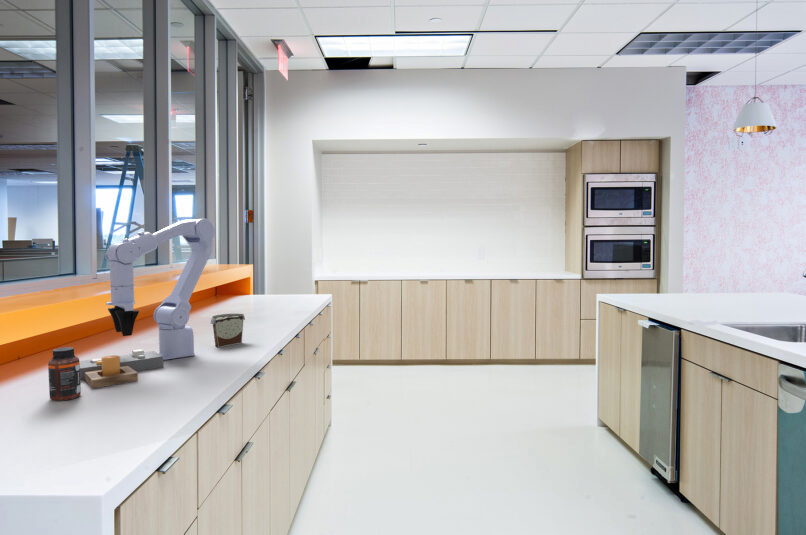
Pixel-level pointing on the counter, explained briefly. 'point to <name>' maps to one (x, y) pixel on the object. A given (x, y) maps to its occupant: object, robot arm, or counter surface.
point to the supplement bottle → (64, 375)
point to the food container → (227, 329)
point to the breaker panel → (126, 363)
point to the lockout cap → (110, 365)
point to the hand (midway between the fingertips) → (123, 333)
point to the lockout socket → (111, 377)
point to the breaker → (137, 353)
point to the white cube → (96, 360)
